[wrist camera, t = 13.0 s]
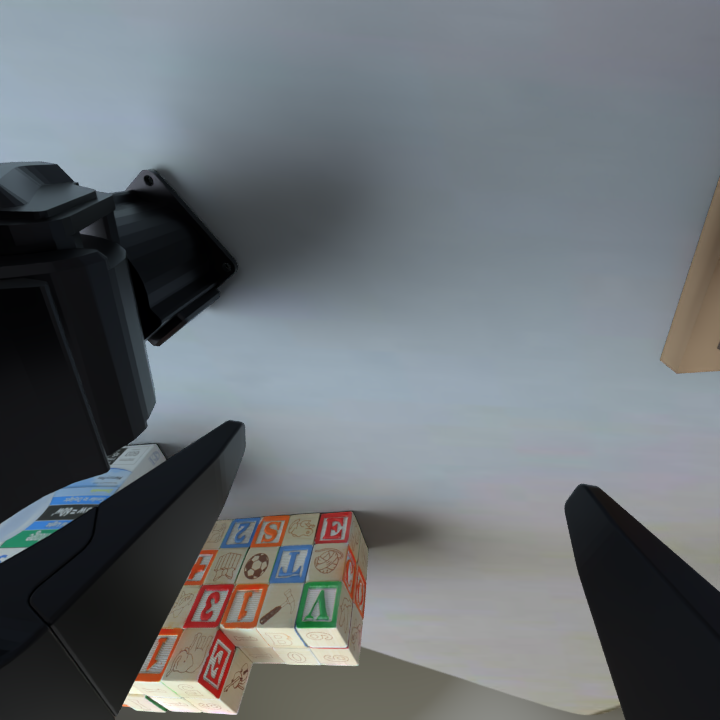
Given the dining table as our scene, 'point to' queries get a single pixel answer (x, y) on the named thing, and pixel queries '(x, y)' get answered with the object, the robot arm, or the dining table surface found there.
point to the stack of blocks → (258, 610)
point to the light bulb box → (75, 499)
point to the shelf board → (699, 305)
